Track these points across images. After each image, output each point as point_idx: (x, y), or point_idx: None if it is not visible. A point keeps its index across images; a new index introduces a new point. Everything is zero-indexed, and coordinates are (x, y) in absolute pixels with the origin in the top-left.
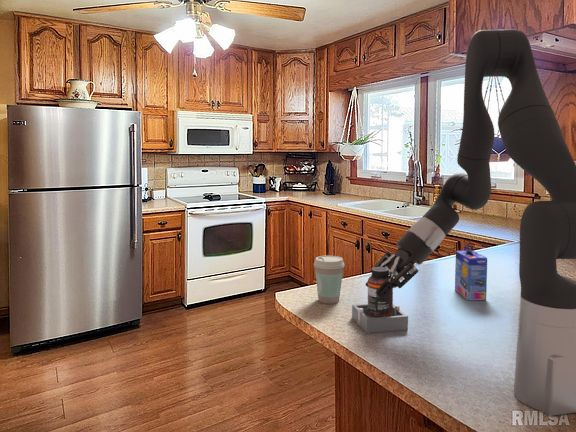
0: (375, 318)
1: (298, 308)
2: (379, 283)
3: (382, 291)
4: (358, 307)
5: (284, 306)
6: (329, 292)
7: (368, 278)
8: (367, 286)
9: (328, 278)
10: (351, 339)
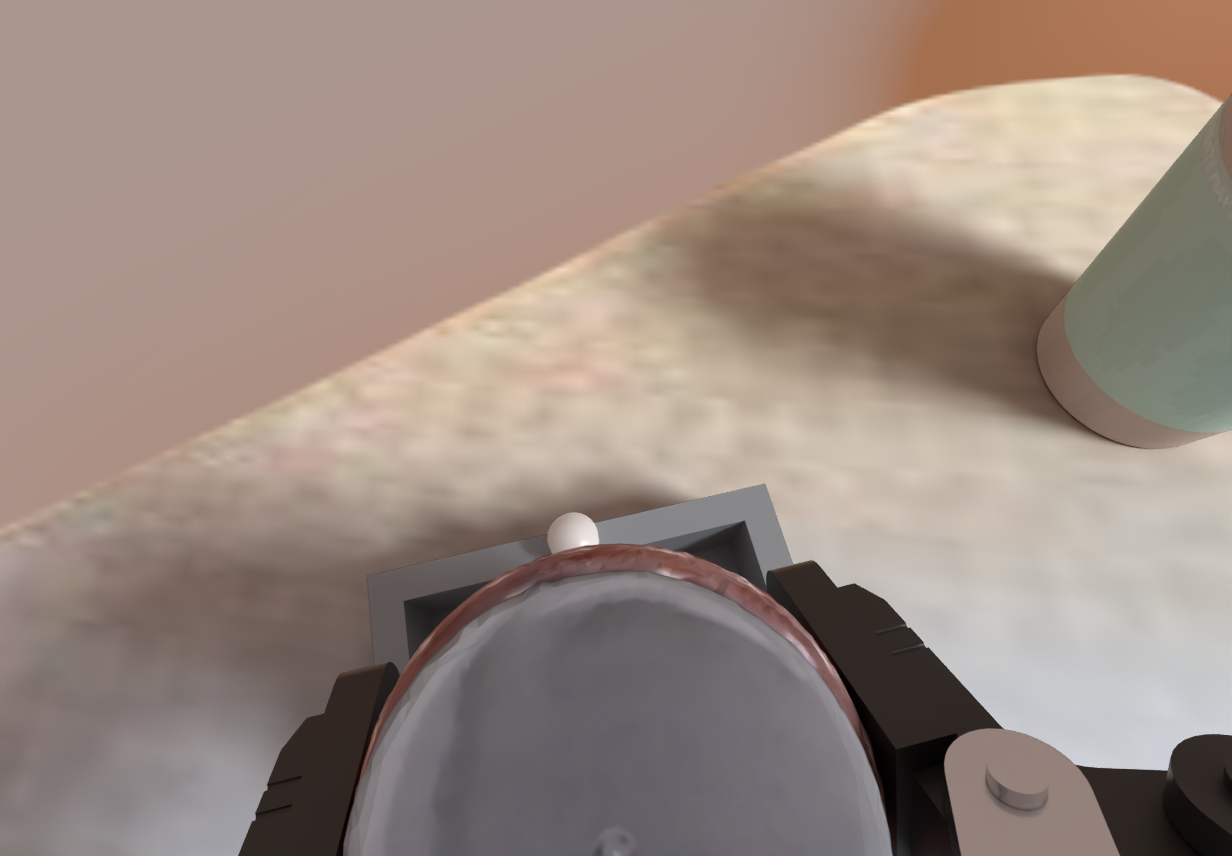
0: None
1: (880, 178)
2: (374, 738)
3: (277, 770)
4: (747, 547)
5: (901, 108)
6: (1095, 313)
7: (668, 552)
8: (768, 590)
9: (1192, 202)
10: (318, 473)
